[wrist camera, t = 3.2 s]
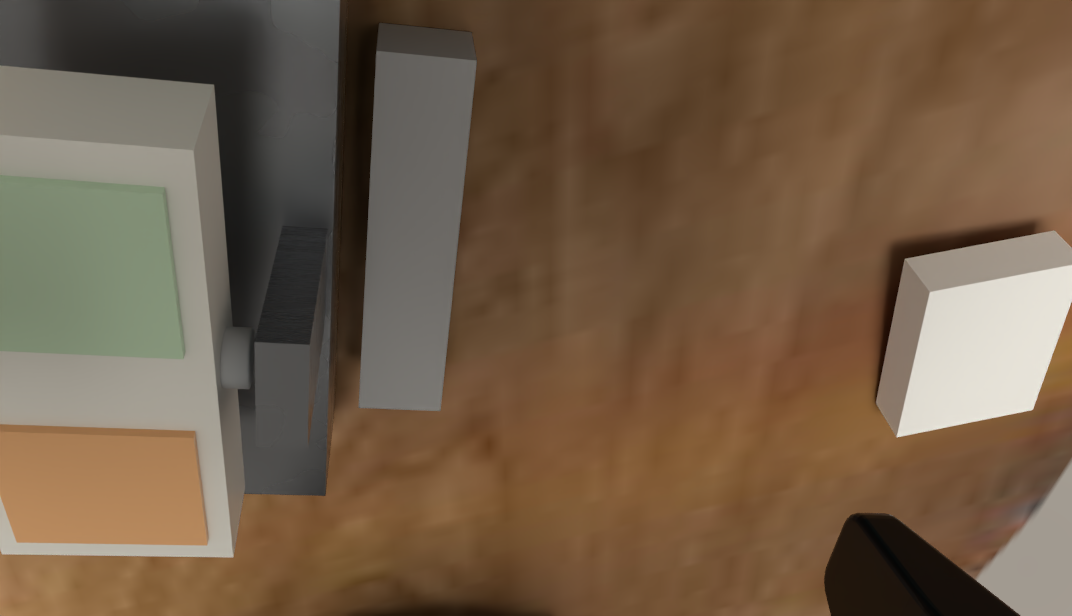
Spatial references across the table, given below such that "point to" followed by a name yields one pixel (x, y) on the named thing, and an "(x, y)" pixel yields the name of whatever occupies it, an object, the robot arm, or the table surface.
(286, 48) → the grey stand
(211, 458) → the rocker switch
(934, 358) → the eraser
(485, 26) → the table surface
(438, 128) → the tall grey pillar
